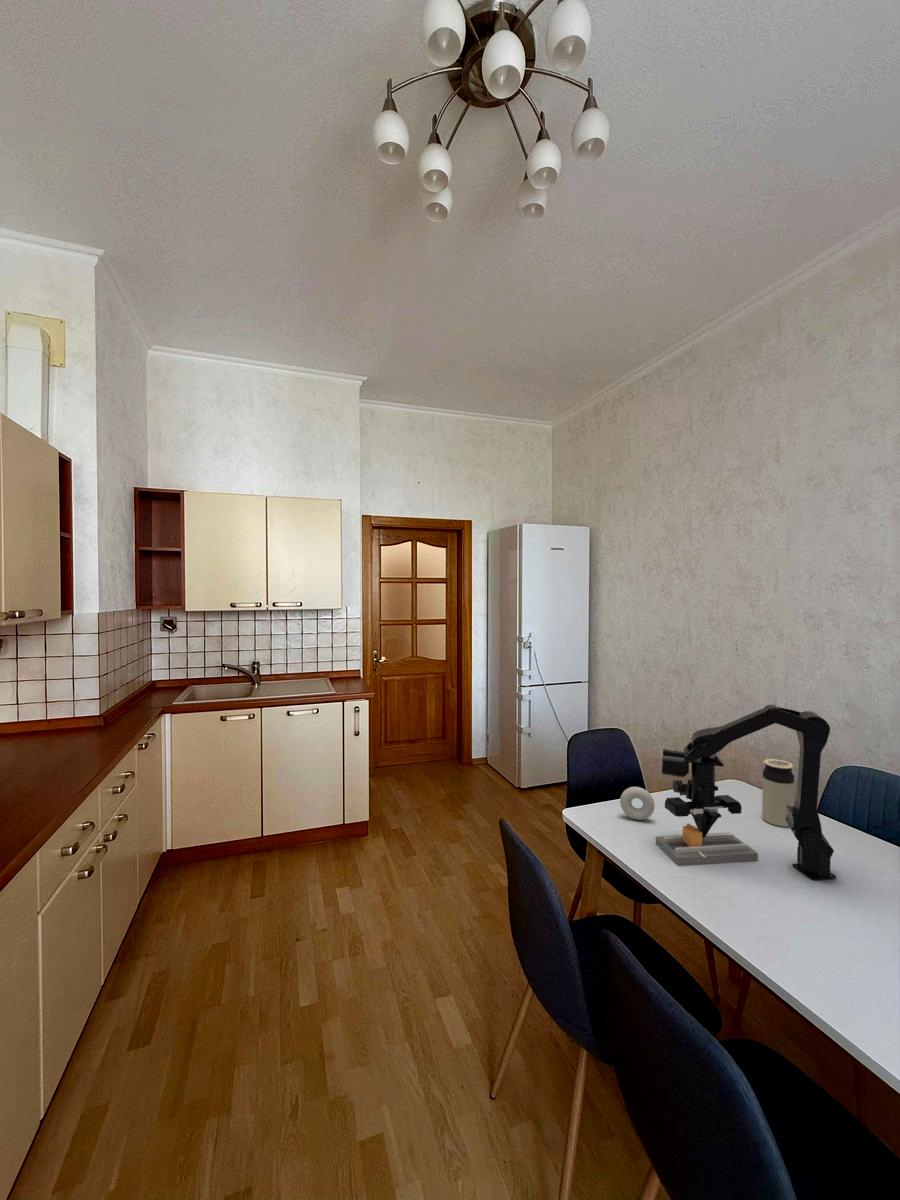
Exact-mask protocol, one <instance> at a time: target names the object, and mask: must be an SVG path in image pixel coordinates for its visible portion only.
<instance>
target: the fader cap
mask: <svg viewBox="0 0 900 1200" xmlns="http://www.w3.org/2000/svg"><path fill="white" fill-rule="evenodd" d="M682 835H683V841H684V842H685V843H686V844H687V845H688V846H689V847H694V846H702V832H701V831H699V830H698V829H697V826H694V825H692V824H691V823H686V825H683V826H682Z"/></svg>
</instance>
